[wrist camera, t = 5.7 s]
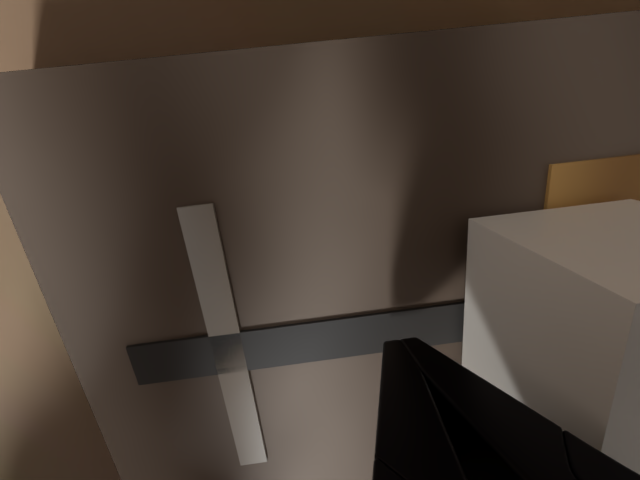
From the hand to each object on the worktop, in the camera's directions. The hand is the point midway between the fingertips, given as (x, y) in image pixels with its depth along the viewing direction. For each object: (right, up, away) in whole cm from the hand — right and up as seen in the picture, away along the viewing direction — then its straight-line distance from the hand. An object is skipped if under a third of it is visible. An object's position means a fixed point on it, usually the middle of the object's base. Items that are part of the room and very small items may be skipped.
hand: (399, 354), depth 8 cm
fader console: (0, +1, +3) cm, 3 cm away
